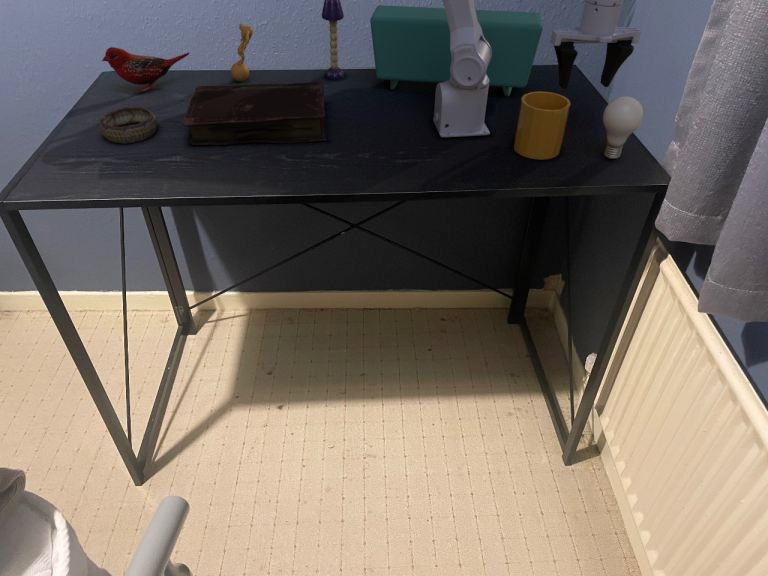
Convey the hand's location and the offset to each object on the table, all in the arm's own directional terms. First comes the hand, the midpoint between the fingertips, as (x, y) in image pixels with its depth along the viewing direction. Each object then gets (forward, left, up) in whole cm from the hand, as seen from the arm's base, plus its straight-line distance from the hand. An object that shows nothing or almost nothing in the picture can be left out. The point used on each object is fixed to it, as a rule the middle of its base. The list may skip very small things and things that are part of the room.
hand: (583, 85), depth 100 cm
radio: (-17, +28, -11) cm, 34 cm away
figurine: (-61, +36, -11) cm, 72 cm away
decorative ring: (-81, +12, -11) cm, 83 cm away
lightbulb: (+5, -8, -11) cm, 14 cm away
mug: (-8, -1, -10) cm, 13 cm away
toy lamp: (-41, +36, -11) cm, 56 cm away
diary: (-57, +13, -11) cm, 60 cm away
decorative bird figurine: (-80, +33, -11) cm, 88 cm away
